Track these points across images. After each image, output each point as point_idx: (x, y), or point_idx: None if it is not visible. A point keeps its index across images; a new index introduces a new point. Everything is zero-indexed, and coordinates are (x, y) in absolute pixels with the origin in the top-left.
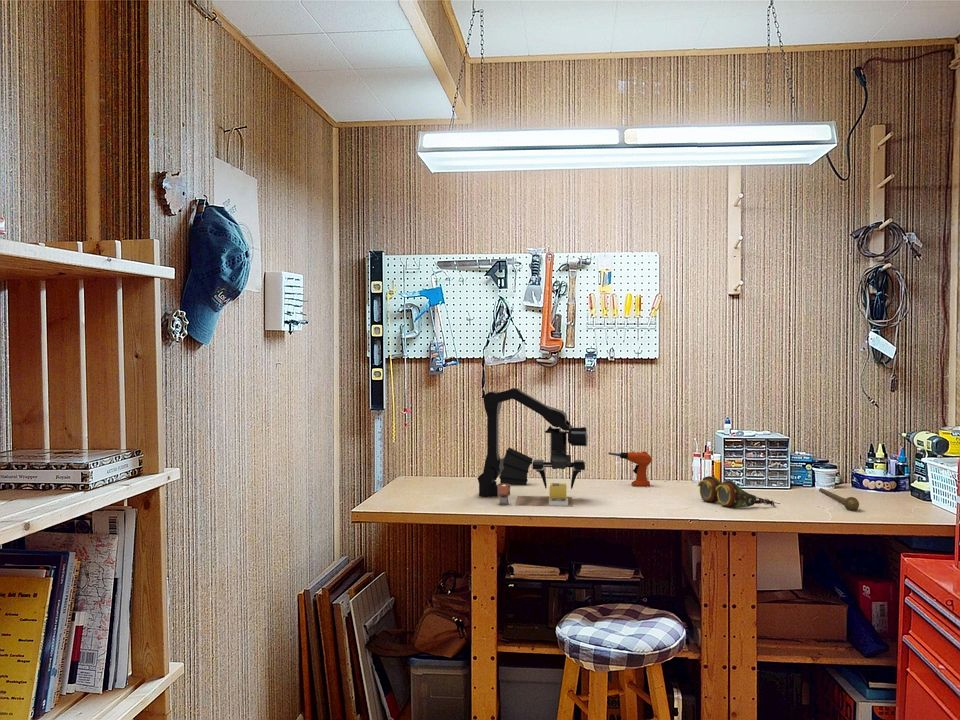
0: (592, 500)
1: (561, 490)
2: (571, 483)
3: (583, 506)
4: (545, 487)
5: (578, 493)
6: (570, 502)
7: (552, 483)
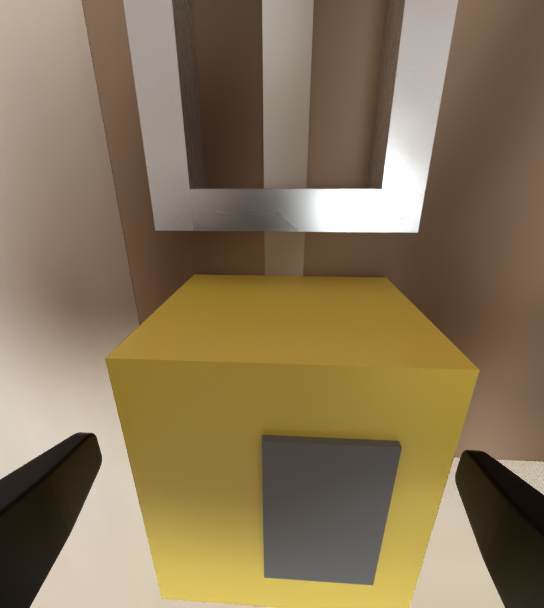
0: (16, 416)
1: (226, 326)
2: (12, 499)
3: (26, 182)
4: (490, 458)
5: (152, 578)
6: (141, 194)
7: (374, 567)
